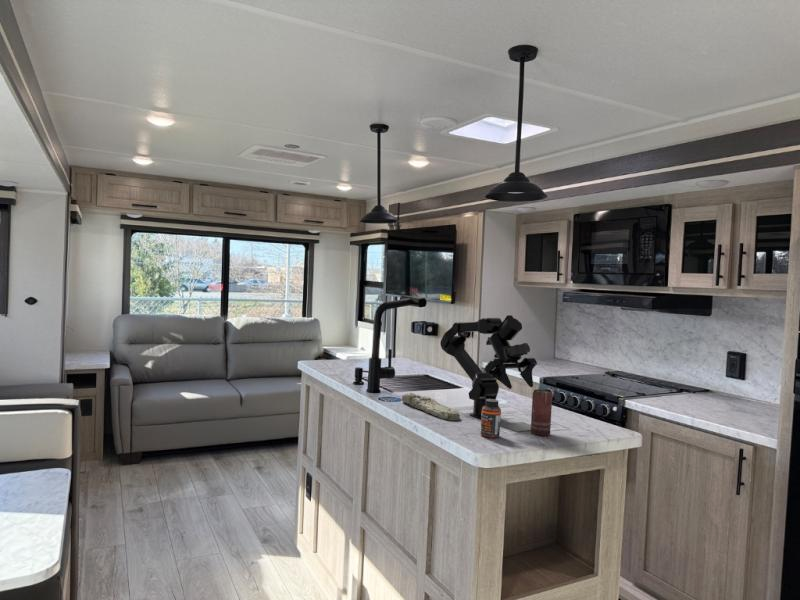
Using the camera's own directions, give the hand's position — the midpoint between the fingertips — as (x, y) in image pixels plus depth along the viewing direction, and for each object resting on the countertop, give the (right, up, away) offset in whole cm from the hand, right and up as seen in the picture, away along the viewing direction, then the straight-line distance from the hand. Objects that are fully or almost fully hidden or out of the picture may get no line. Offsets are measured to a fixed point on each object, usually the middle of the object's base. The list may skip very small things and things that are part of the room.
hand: (521, 387), depth 187 cm
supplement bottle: (-12, -14, -9) cm, 20 cm away
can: (+5, -15, -4) cm, 16 cm away
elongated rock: (-29, -13, +25) cm, 40 cm away
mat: (0, -14, +4) cm, 15 cm away
